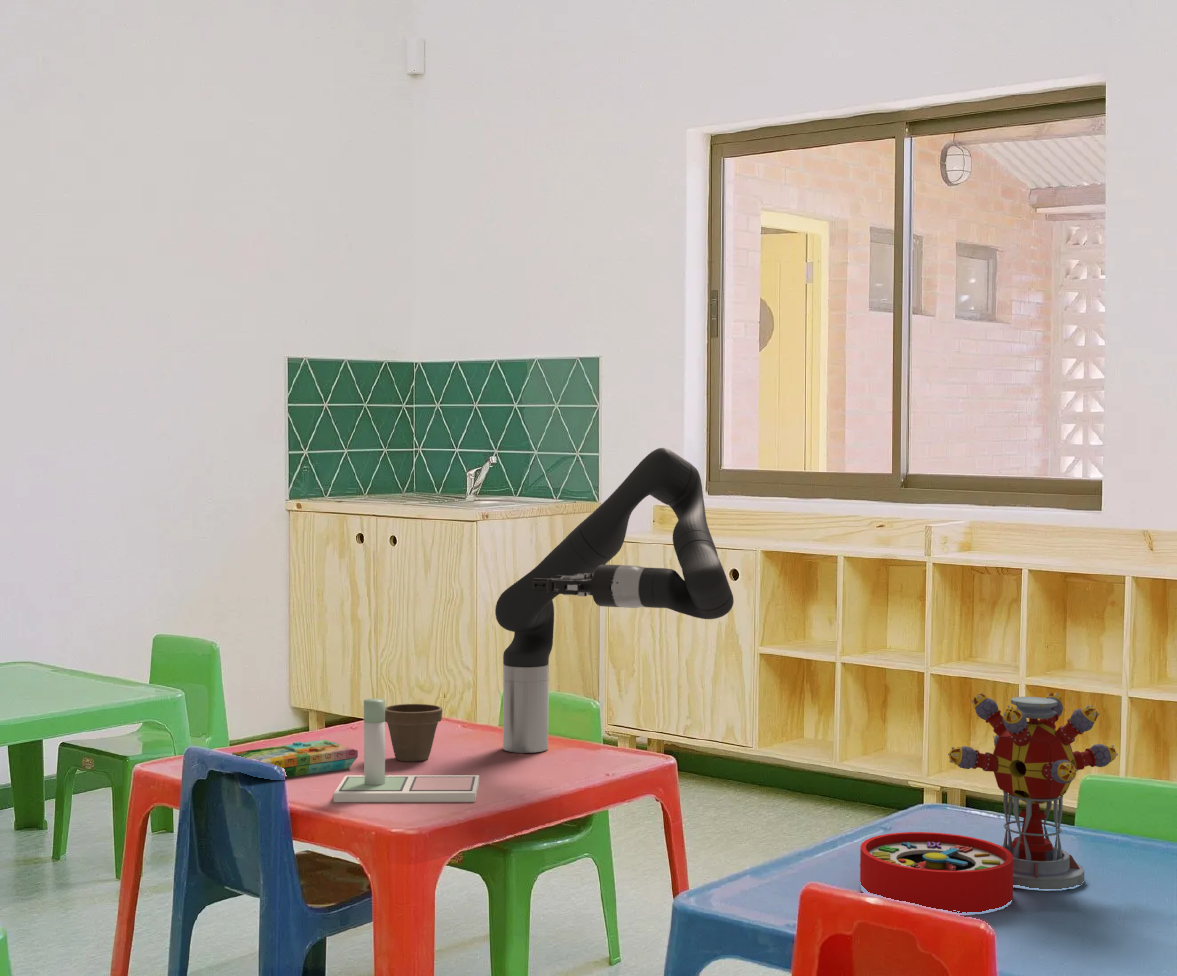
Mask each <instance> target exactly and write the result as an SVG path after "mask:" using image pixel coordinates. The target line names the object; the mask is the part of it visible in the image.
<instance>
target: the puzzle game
mask: <svg viewBox="0 0 1177 976" xmlns="http://www.w3.org/2000/svg"><path fill="white" fill-rule="evenodd" d="M232 755H236V756H241V757H245V758H249V759H256V760H259V761H261V762H266V763H270V764H274V765H277V766H279V767H282V768H284V769H285V772H286V775H287V777H286V778H291V777H292V778H293V777H298V776H304V775H305V776H306V775H311V774H312V775H313V774H318V773H327V772H333V771H339V770H348V769H350V768H351V767H352V765H353V764H354V763H355V761H356V760H357V759H358V757H359V751H358V750H357V749H354V748H351V747H348V746H345V745H342V744H339V743H336V742H334V741H331V740H328V739H321V740H313V741H307V742H305V741H304V742H301V741H294V742H292V744H283V745H277V746H269V747H263V748H256V749H255V748H254V749H249V750H242V751H235V752H232V753H231V756H232Z"/></svg>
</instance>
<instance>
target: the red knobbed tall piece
mask: <svg viewBox="0 0 1177 976" xmlns="http://www.w3.org/2000/svg"><path fill="white" fill-rule="evenodd" d="M970 703H972V704H973V708H974V710H975V713H976V715H977V717H978V718H980V719H982V720H985V721H984V722H985V723H986V724H988V723H989V725H990V726H991V727H992V728H993V730H992V731H993V733H994V734H995V735H992V738H993V743H994V750H993V752H992V753H991V752H984V753H982V752H980V751H979V750H978V749H974V748H973V747H970V746H965V745H964V746H963V745H962V746H961V747H960V746H957V747H953V746H951V749H950V752H949V753H948V754H947V755H948V758H949V763H952V764H954V765H955V766H957V767H959V769H960V768H961V769H965V770H969V769H973V770H976V769H977V768H979V769H981V770H982V771H984V772H990V773H991V772H993V773H994V774H993V775H994V778H995V781H996V784H997V787H998V788H999V790H1001V791H1002V793H1003V800H1002V801H1003V802H1002V803H1003V812H1004V818H1005V823H1004V824H1003V828H1004V829H1005V833H1004V839H1003V844H1002V845H1000V846H1002V847H1004V848H1006V849H1007V850H1008V851H1010V852H1011V854H1012V855H1013V885H1020V886H1025V887H1029V888H1039V889H1062V888H1069V887H1074V886H1076V885H1081V884H1082V882H1083V881H1084V882H1085V869H1084V866H1082V865H1080V864H1079V863H1077V862H1076V860H1075V859H1074V858H1073V855H1072V854H1069V853H1068V852H1067V851H1065V850H1064V849H1062V843H1061V837H1060V834H1061V833H1062V828H1061V824H1062V823H1061V822H1062V817H1063V811H1064V810H1063V809H1064V808H1063V806H1064V805H1063V803H1064V801H1063V798H1064V795H1065V794H1066V793H1067V791H1068V790H1069V788H1070V785H1071V783H1072V782H1073V781H1074V779H1075V778H1076V776H1077V772H1078V771H1081V770H1084V769H1085V768H1086V767H1091V768H1094V767H1097V768H1104V767H1107V766H1108V765H1109V764H1110V763H1113V761H1114V760H1116V757H1117V756H1119V754H1118V753H1117V751H1116V749H1115V746H1114V744H1111V745H1107V744H1103V743H1102V744H1101V743H1096V744H1093V745H1091V746H1090V747H1088V748H1085V750H1084V751H1079V750H1075V751H1073V748H1072V743H1074V742H1075V741H1076V737H1077V736H1079V735H1083V734H1084V733H1085V732H1088V731H1090V730H1092V728H1093V727H1094V725H1095V723H1096V721H1097V719H1098V717H1099V716H1100V715H1101V713H1100V712H1098V710H1097V709H1096V707H1094V705H1093V704H1092V705H1089V704H1087V705H1085V706H1081V707H1080V708H1077V709H1075V710H1073V711H1072V714H1071V716H1070V718H1068V719H1067V723H1066V724H1064V725H1061V726H1059V727H1058V728H1057V729H1056V727H1057V726H1056V723H1057V722H1058V720H1059V718H1060V717H1061V716H1062V713H1063V711H1064V706H1063V698H1062V697H1060V694H1059V692H1055V693H1054V692H1049V691H1048V692H1047V695H1046V696H1045V697H1040V696H1015V697H1011V698H1010V704H1012V705H1013V706H1016V707H1013V706H1010V705H1009V704H1008V705H1007V708H1006V709H1005V711H1004V713H1003V716H1002V714H1001V713H1002V710H1000V709H999V705H998V704H997V702H996V701H995V700H994V699H992V698H990V697H989V696H986V695H985V694H984V692H981V693H979V694H976V695H975V696H974V697H973V699H971V700H970ZM1027 719H1028V720H1029V721H1028V720H1027ZM1020 800H1021V801H1022V802H1024V803H1025V808H1022V809H1021V810H1020V812H1019V809H1020V808H1019V806H1020ZM1052 802H1053V803H1052ZM1043 804H1046V807H1045V811H1044V810H1043V809H1041V807H1040V805H1043ZM1052 806H1053V811H1052V812H1053V820H1054V824H1052V823H1049V822H1047V820H1048V818H1049V814H1050V811H1051V809H1052ZM1012 813H1013V815H1014V820H1013V821H1011V815H1012ZM1020 818H1022V819H1023V820H1020ZM1042 820H1043V821H1042ZM1021 823H1022V827H1021ZM1012 824H1016V826H1017V828H1018V831H1017V830H1013V829H1010V828H1011V827H1010V825H1012ZM1046 826H1050V827H1053V828H1055V832H1053V833H1052V832H1051V833H1048V830H1047V828H1046ZM1012 833H1014V834H1018V836H1016V837H1015V838H1013V840H1012ZM1052 836H1056V837H1055V841H1054V846H1053V844H1052V842H1051V840H1050V837H1052ZM1082 885H1083V884H1082Z"/></svg>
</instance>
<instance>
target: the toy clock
mask: <svg viewBox="0 0 1177 976" xmlns="http://www.w3.org/2000/svg"><path fill="white" fill-rule="evenodd" d="M859 847H860V850H859V852H860V854H859V857H860V859H859V860H860V861H859V863H860V864H859V869H860V870H859V883H860V882H861V885H862V886H863V887H864V888H865V889H866V890H867V891H868V892H870V893H873V894H877V895H881V896H883V897H886V898H891V899H894V900H899V901H906V902H910V903H915V904H919V905H922V906H926V907H931V908H936V909H943V910H948V911H952V912H957V911H960V912H959V913H962V912H966V913H967V912H982V911H986V910H989V909H995V908H999V907H1002V906H1004V905H1006V904H1007V903H1008V902H1010V901H1011V900H1012V899H1014V888H1013V855H1012V854H1011V852H1010V851H1008V850H1007V849H1006V848H1004V847H1002V846H1001V845H999V844H997V843H994V842H992V841H988V840H985V839H980V838H976V837H973V836H967V835H961V834H955V833H954V834H953V833H945V832H944V833H942V832H931V831H929V832H927V831H908V832H906V831H905V832H894V833H893V832H892V833H885V834H881V835H880V834H879V835H876V836H873V837H870V838H867V839H865V840H864V841H863V842H862V843H861V844H860V846H859ZM953 910H956V911H953ZM957 913H958V912H957Z"/></svg>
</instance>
